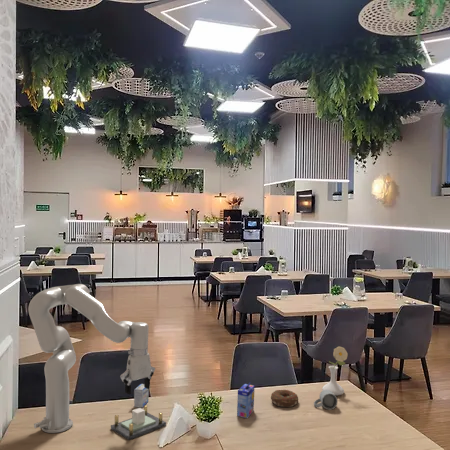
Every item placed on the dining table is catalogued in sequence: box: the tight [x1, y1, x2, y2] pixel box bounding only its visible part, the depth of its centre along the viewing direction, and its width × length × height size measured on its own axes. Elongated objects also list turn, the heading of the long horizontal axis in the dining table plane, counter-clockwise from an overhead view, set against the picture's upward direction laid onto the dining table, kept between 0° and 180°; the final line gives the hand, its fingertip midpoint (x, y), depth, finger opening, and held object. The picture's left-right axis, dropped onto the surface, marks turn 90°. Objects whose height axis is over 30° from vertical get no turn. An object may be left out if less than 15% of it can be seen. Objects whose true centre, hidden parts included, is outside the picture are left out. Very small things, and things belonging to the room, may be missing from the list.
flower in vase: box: [321, 346, 349, 396], centre depth 231 cm, size 13×11×25 cm
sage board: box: [121, 407, 156, 431], centre depth 191 cm, size 12×9×6 cm
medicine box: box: [133, 383, 149, 409], centre depth 215 cm, size 8×4×9 cm, turn 168°
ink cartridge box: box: [236, 381, 256, 419], centre depth 205 cm, size 10×6×14 cm, turn 158°
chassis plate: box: [110, 404, 167, 441], centre depth 190 cm, size 19×14×6 cm
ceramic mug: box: [313, 390, 338, 411], centre depth 214 cm, size 11×8×8 cm
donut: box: [270, 389, 299, 408], centre depth 218 cm, size 14×14×5 cm
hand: (137, 390), depth 191 cm, fingers open, 9 cm apart
